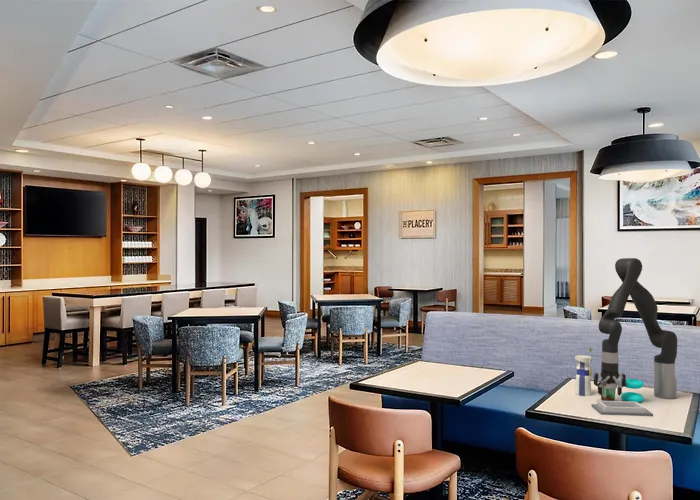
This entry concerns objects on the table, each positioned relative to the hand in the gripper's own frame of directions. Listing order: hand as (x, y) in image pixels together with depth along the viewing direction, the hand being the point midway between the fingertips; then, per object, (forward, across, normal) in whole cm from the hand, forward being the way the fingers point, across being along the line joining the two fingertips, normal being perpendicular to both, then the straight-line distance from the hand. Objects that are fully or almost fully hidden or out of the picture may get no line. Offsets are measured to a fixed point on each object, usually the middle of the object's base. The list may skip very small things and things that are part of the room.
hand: (609, 394), depth 274 cm
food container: (+4, 0, 0) cm, 4 cm away
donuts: (+4, -12, -5) cm, 14 cm away
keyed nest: (+4, 0, +15) cm, 15 cm away
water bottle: (+4, +8, -15) cm, 17 cm away
